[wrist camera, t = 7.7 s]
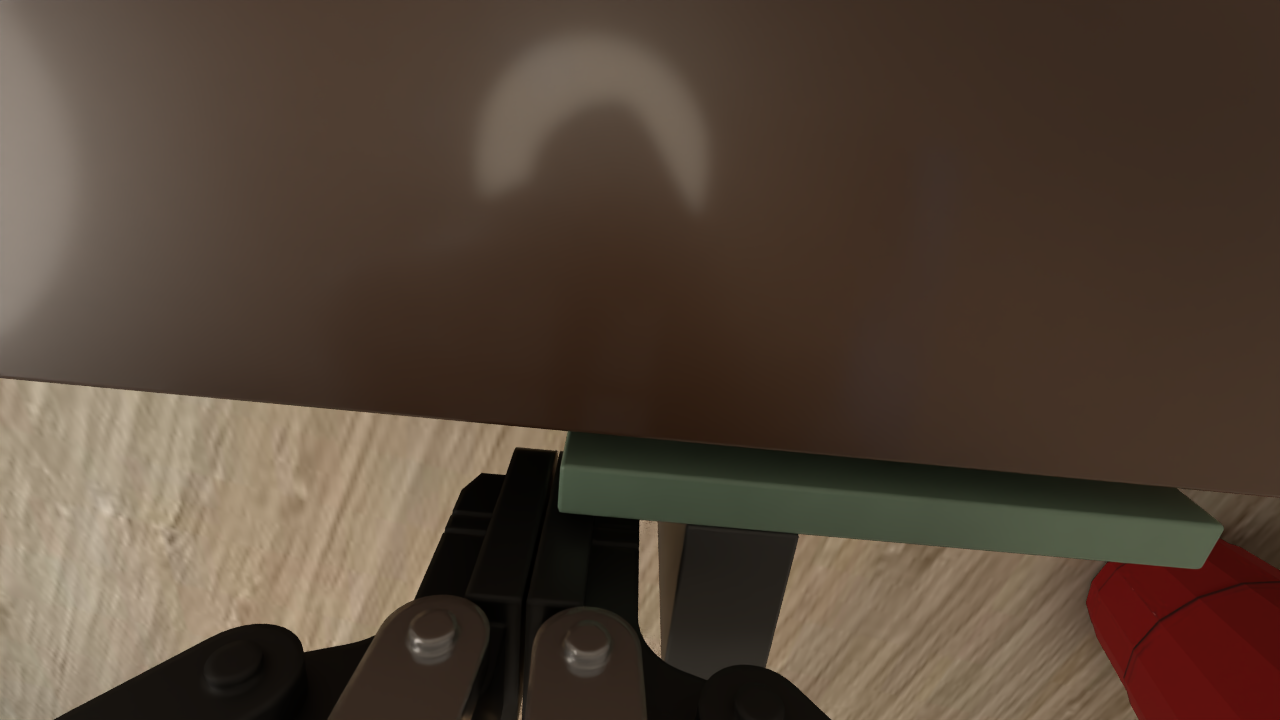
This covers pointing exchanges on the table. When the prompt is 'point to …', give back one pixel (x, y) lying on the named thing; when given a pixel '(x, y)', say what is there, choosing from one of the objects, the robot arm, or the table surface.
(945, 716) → the table surface
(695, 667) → the door
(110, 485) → the table surface
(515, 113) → the cupboard
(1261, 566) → the plastic cup
